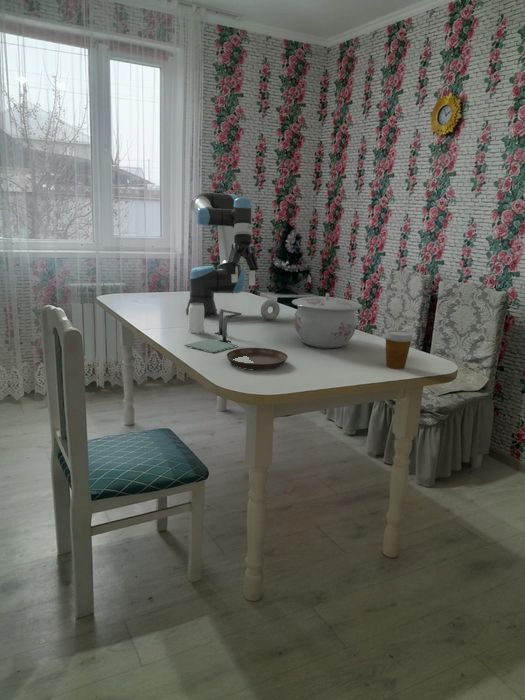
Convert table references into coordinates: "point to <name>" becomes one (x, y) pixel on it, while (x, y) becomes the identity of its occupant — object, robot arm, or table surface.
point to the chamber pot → (325, 321)
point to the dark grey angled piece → (225, 324)
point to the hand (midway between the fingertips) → (243, 284)
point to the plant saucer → (258, 358)
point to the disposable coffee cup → (397, 348)
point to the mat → (211, 345)
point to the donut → (265, 309)
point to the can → (196, 318)
